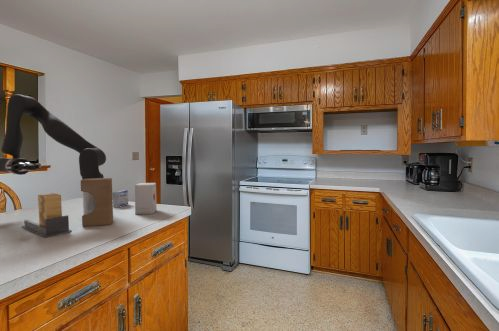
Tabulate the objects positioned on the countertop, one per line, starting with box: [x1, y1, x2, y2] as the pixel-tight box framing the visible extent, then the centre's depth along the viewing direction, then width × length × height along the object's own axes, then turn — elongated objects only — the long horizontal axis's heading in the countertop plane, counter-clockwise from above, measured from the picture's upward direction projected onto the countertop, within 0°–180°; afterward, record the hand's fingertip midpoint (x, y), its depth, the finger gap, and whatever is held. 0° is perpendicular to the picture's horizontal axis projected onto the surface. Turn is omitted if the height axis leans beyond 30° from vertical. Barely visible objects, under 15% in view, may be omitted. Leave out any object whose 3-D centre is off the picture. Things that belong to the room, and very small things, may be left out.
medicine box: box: [112, 189, 129, 208], centre depth 157 cm, size 8×4×9 cm, turn 168°
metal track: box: [21, 215, 72, 239], centre depth 111 cm, size 25×9×7 cm, turn 56°
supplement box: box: [134, 182, 157, 215], centre depth 141 cm, size 9×9×15 cm
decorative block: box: [80, 177, 114, 228], centre depth 118 cm, size 11×6×20 cm, turn 104°
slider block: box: [37, 192, 63, 227], centre depth 108 cm, size 8×5×14 cm, turn 56°
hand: (31, 167), depth 117 cm, fingers closed
